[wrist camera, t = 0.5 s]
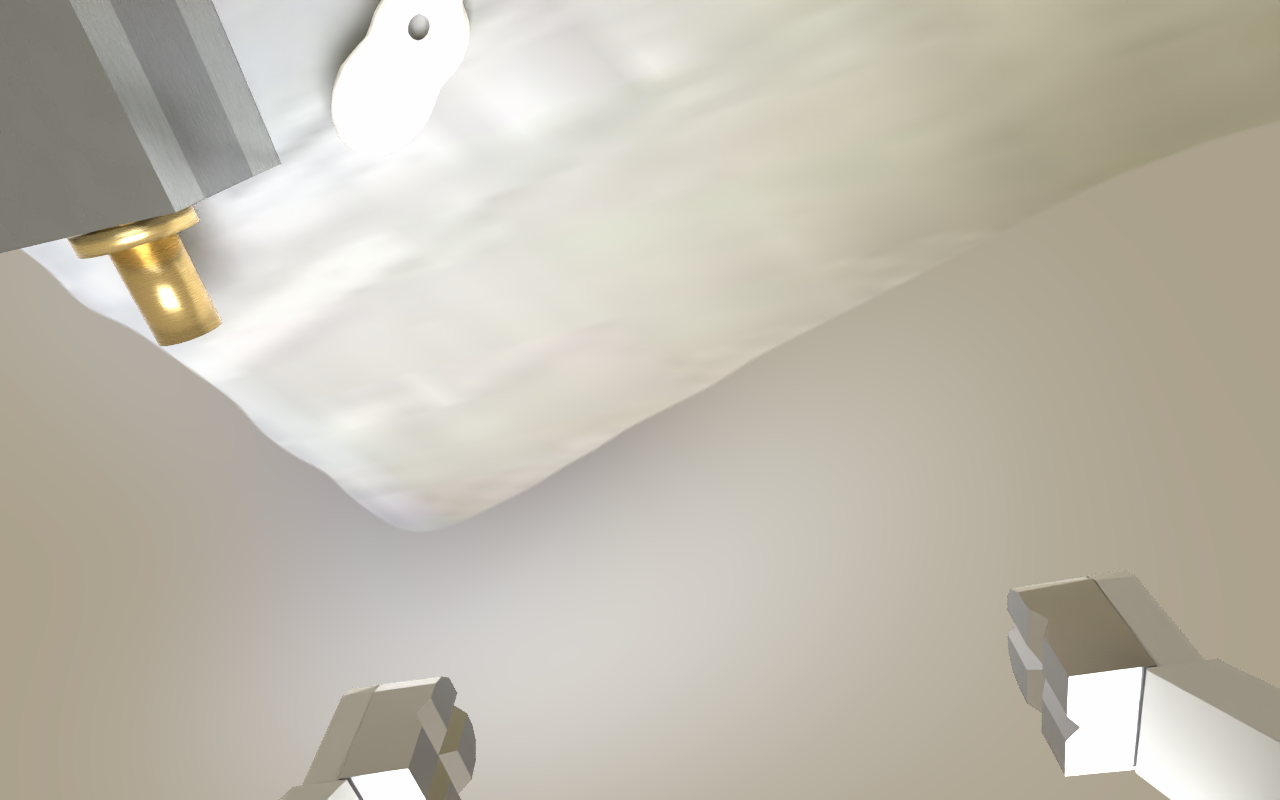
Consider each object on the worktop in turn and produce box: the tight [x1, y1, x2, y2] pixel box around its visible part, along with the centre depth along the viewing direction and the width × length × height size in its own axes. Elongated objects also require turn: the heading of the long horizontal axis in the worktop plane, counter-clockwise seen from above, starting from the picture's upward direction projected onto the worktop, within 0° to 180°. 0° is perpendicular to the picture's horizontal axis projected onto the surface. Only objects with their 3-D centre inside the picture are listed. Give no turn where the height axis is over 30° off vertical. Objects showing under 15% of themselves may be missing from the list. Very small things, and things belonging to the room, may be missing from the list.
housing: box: [0, 0, 281, 253], centre depth 45 cm, size 12×14×13 cm
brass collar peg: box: [67, 205, 222, 346], centre depth 48 cm, size 15×7×7 cm, turn 12°
